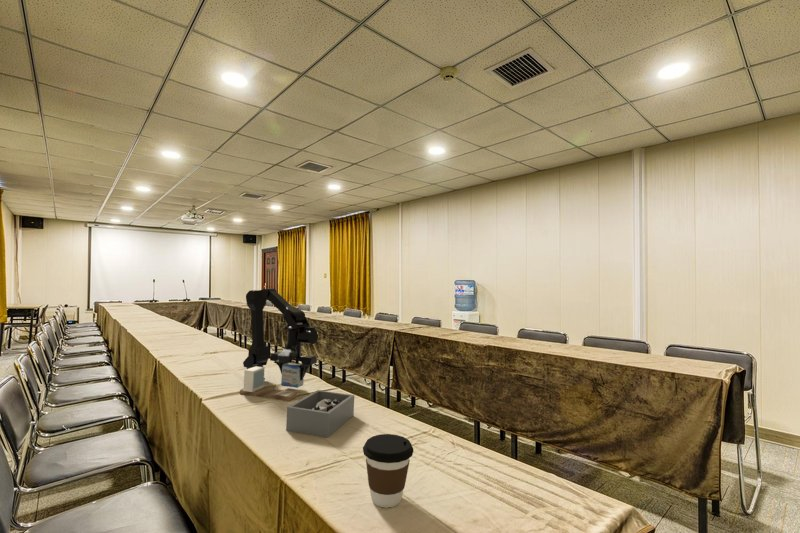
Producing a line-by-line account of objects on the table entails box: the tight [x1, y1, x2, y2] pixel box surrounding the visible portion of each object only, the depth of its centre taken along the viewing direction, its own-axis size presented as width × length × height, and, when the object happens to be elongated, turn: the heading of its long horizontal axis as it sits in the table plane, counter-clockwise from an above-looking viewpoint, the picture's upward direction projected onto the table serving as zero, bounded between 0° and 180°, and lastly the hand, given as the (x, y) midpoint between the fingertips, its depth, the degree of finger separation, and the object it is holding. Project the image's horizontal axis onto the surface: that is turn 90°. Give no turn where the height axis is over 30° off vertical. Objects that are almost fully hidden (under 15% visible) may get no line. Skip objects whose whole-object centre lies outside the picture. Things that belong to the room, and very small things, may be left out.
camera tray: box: [285, 389, 355, 438], centre depth 123 cm, size 14×19×7 cm
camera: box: [311, 399, 343, 412], centre depth 122 cm, size 13×8×9 cm, turn 147°
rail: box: [239, 387, 299, 402], centre depth 148 cm, size 22×6×2 cm, turn 74°
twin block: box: [243, 366, 266, 392], centre depth 150 cm, size 4×7×8 cm, turn 164°
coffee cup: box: [362, 433, 414, 509], centre depth 82 cm, size 11×11×12 cm
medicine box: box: [280, 362, 305, 389], centre depth 157 cm, size 8×4×9 cm, turn 73°
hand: (292, 379), depth 157 cm, fingers closed on medicine box, 8 cm apart
